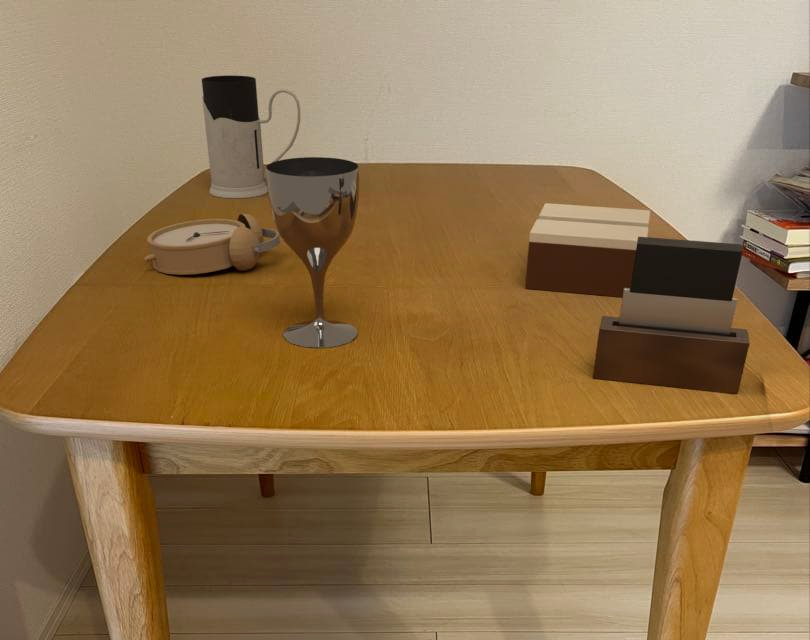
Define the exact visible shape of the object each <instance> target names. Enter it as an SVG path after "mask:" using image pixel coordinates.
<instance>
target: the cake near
mask: <svg viewBox="0 0 810 640" xmlns="http://www.w3.org/2000/svg"><path fill="white" fill-rule="evenodd" d="M638 237H649V227H639V226H625V225H612V224H598V223H584V222H571V221H557V220H543V219H539V218H536V220H535V222H534V224H533V225H532V228H531V229H530V232H529V237H528V248H527V263H526V271H525V284H524V285H525V286H524V289H526V290H536V291H548V292H556V293H557V292H559V293H567V294H569V293H570V294H580V295H581V294H582V295H592V296H602V297H615V298H623V291H624V288H630V286H631V280H632V273H633V267H634V260H635V254H636V247H637V240H638Z"/></svg>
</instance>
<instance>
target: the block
mask: <svg viewBox="0 0 810 640" xmlns="http://www.w3.org/2000/svg"><path fill="white" fill-rule="evenodd" d="M619 318H620V316H609V315H601V319H600V324H599V328H598V335H597V343H596V350H595V357H594V364H593V371H592V379H597V380H606V381H613V382H614V381H615V382H624V383H632V384H633V383H634V384H644V385H650V386H651V385H652V386H662V387H672V388H679V389H680V388H681V389H689V390H697V391H698V390H699V391H706V392H717V393H724V394H725V393H726V394H734V395H735V394H736V395H738V394H739V390H740V386H741V383H742V378H743V373H744V370H745V365H746V361H747V357H748V352H749V348H750V343H751V342H750V337H749V332H748V329H747V328H738V327H731V332H730V336H729V337H725V336H715V335H705V334H694V333H684V332H673V331H663V330H652V329H642V328H632V327H621V326H618V325H619Z"/></svg>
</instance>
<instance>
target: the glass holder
mask: <svg viewBox="0 0 810 640" xmlns="http://www.w3.org/2000/svg"><path fill="white" fill-rule="evenodd" d="M201 87H202V108H203V114H204V115H203V118H204V126H205V135H206V136H205V137H206V144H207V151H208V152H207V153H208V162H209V163H208V164H209V172H210V180H211V181H210V182H211V184H210V188H209V194H210V195H211V196H214V197H218V198H223V199H248V198H256V197H260V196H263V195H266V194H268V187H267V182H266V181H267V174H266V169H265V167H264V166H265V165H264V152H263V139H262V127H261V126H262V125H261V124H267V123H269V122H270V121H271V120H272V116H273V114H272V113H273V111H272V109H273V102H274V99H275V98H276V96H277V95H278V94H281V93H286V94H288V95H290V96H291V97H292V98H293V99H294V102H295V103H296V108H297V120H296V121H297V122H296V126H295V131H294V133H293V136H292V138H291V140H290V142H289V144H287V145H288V146H287V147H286V148H285V149H284V150H283V151H282V152H281V154H279V155H278V156H277V157H276V158H275V159H273V161H272V162H275V161H279V160H281V159H282V158H283V156H284V155H285V154H286V153H287V152H289V150H290V149H291V148H292V147H293V145H294V143H295V141H296V138H297V136H298V133H299V129H300V125H301V106H300V101H299V99H298V97H297V96H296V95H295V94H294V93H293V91H291V90H288V89H281V88H280V89H278V90H276V91H275V92H273V94H272V95H271V96H270V99H269V102H268V117H267V119H264V120H262V119H261V118H260V116H259V104H258V103H259V102H258V90H257V79H256V77H253V76H250V75H249V76H248V75H214V76H213V75H211V76H206V77H203V78H201Z"/></svg>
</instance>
